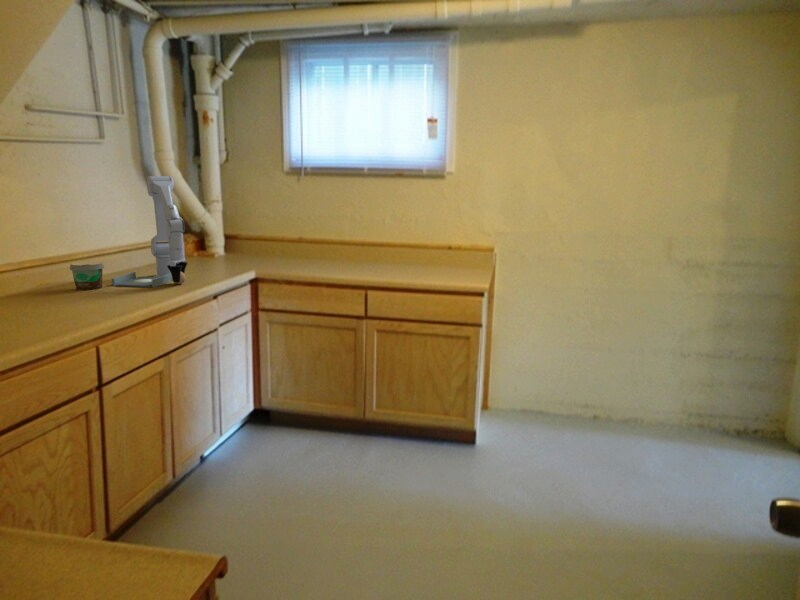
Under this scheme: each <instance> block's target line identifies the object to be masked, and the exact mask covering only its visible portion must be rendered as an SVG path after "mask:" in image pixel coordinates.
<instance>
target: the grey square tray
mask: <svg viewBox="0 0 800 600" xmlns="http://www.w3.org/2000/svg"><path fill="white" fill-rule="evenodd" d="M136 274H137V273H136V272H135V271H132V272H129V273H125V274H121V275H119V276H116V277H113V278H111V283H112V284H111V285H112V286H113V287H117V286H116V284H119V283H122V282H125V281H128V280H131V279H134V278H137V275H136ZM169 282H173V281H172V275H171V273H170V274H167V275H164V276H161V277H158V278H156V279H153V280H152V286H151V288H156V287H159V286H161V285H164V284H167V283H169Z"/></svg>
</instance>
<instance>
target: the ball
mask: <svg viewBox="0 0 800 600" xmlns="http://www.w3.org/2000/svg"><path fill="white" fill-rule="evenodd" d="M185 281H186V274H185V273H183V272H181V273H180V282H174V281H173V278H172V281H171V282H172V283H174V284H175V285H181V284H183V283H185Z"/></svg>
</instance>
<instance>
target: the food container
mask: <svg viewBox="0 0 800 600" xmlns="http://www.w3.org/2000/svg"><path fill="white" fill-rule="evenodd" d="M103 269H105V265H104V263H103V262H100V263H96V264H81V265H76V264H72V263H70V265H69V270H70V271H71V272H72V278H73V281H74V285H75V289H76V290H78V291H94V290H99V289H101V288H103Z"/></svg>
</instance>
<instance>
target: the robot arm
mask: <svg viewBox="0 0 800 600" xmlns="http://www.w3.org/2000/svg"><path fill="white" fill-rule="evenodd" d="M174 182H175V181H174V178H173V177H172V176H171V175H169V176H167V175H166V176H162V175H160V176H158V175H157V176H153V175H148V176H147V177H146V187H147V189H146V190H147V193H148V194H147V195H148V196H149V197H152V200H153V205H154V206H153V207H154V216H155V217H154V218H155V225H156V234H155V236H153V237H152V238H151V240H150V251H151V254H152V256H153V257H154V258H155V265H156V275H153V277H161V276H164V275H167V274H170V273H171V275H172V278H173V281H174V282H180V273H181V272H183V273H184V274H185V273H186V269H187V266H188V262H187V261H186V258H185V245H184V232H185V222H184V219H183V218H182V217H181V216H180V214H179V210H178V207H177V206H176V205H175V204H174V202H173V198H172V193H173V190H174V188H175V187H174V186H175V185H174V184H175V183H174ZM173 281H172V282H173ZM174 282H173V283H174Z"/></svg>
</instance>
